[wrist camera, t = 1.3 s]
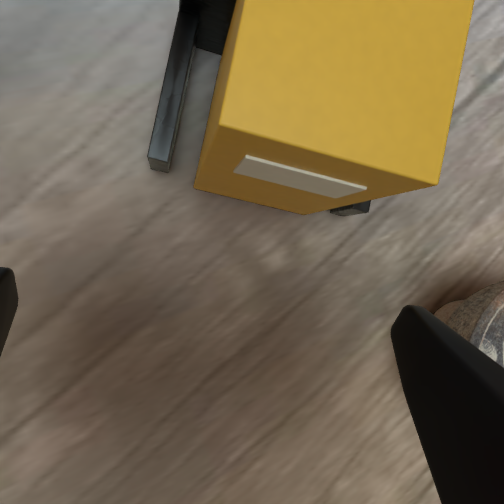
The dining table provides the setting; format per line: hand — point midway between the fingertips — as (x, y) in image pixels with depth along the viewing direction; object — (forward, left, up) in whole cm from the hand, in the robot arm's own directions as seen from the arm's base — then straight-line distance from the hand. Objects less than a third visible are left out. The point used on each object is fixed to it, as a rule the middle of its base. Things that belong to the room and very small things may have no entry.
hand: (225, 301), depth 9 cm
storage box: (+6, -6, -13) cm, 16 cm away
